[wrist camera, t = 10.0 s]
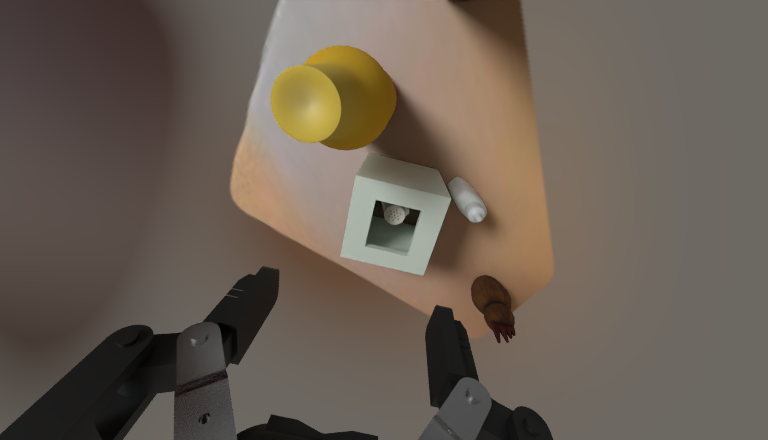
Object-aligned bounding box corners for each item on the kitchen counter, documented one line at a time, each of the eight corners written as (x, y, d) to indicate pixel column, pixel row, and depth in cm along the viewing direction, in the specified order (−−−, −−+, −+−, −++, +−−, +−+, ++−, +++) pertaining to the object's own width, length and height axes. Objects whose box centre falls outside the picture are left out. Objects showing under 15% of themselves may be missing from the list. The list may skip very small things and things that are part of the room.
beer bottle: (341, 131, 44) (251, 186, 18) (333, 67, 40) (203, 15, 14) (398, 128, 43) (389, 180, 17) (395, 62, 39) (379, -3, 13)
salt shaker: (405, 180, 47) (405, 200, 38) (409, 201, 48) (410, 224, 40) (382, 185, 48) (378, 205, 39) (387, 205, 49) (384, 229, 40)
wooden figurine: (462, 284, 55) (481, 346, 42) (481, 265, 53) (508, 324, 40) (486, 300, 57) (513, 364, 43) (507, 282, 54) (541, 344, 41)
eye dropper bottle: (471, 172, 45) (493, 196, 35) (476, 201, 48) (498, 233, 37) (445, 178, 46) (459, 204, 35) (452, 207, 48) (466, 240, 38)
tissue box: (369, 152, 45) (355, 175, 33) (438, 169, 46) (451, 198, 33) (356, 215, 50) (340, 256, 38) (418, 230, 51) (423, 275, 38)
